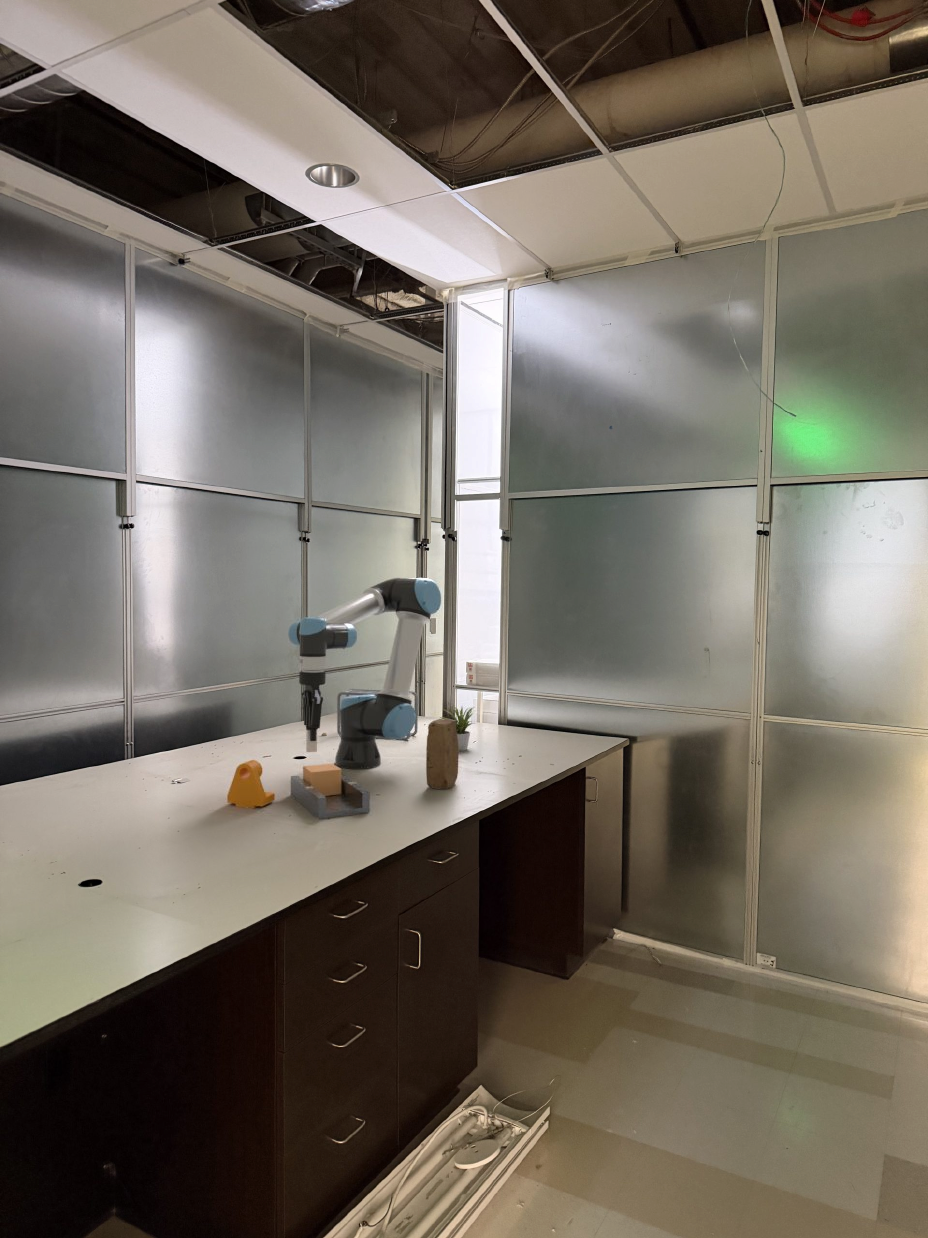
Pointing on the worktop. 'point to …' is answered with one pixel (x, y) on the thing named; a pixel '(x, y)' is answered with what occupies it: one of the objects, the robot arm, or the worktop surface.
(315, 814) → the chute
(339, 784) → the slider block
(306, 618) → the robot arm
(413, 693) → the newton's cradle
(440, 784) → the block
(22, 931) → the worktop surface
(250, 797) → the bracket
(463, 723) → the house plant
